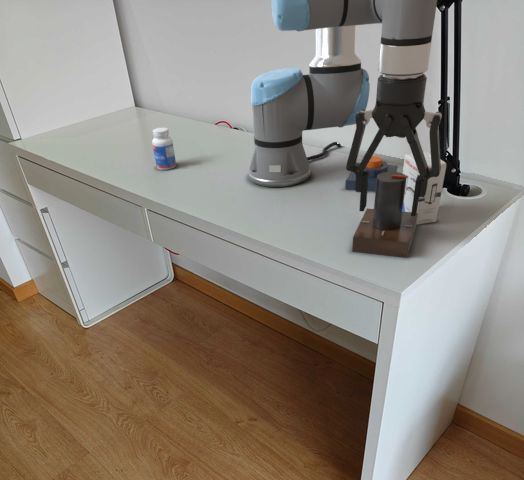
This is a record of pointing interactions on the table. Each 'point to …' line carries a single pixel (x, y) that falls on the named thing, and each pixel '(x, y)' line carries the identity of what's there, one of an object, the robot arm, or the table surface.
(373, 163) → the button
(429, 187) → the ink box
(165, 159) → the pill bottle
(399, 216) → the dial knob
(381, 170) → the button box
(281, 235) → the table surface
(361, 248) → the block
